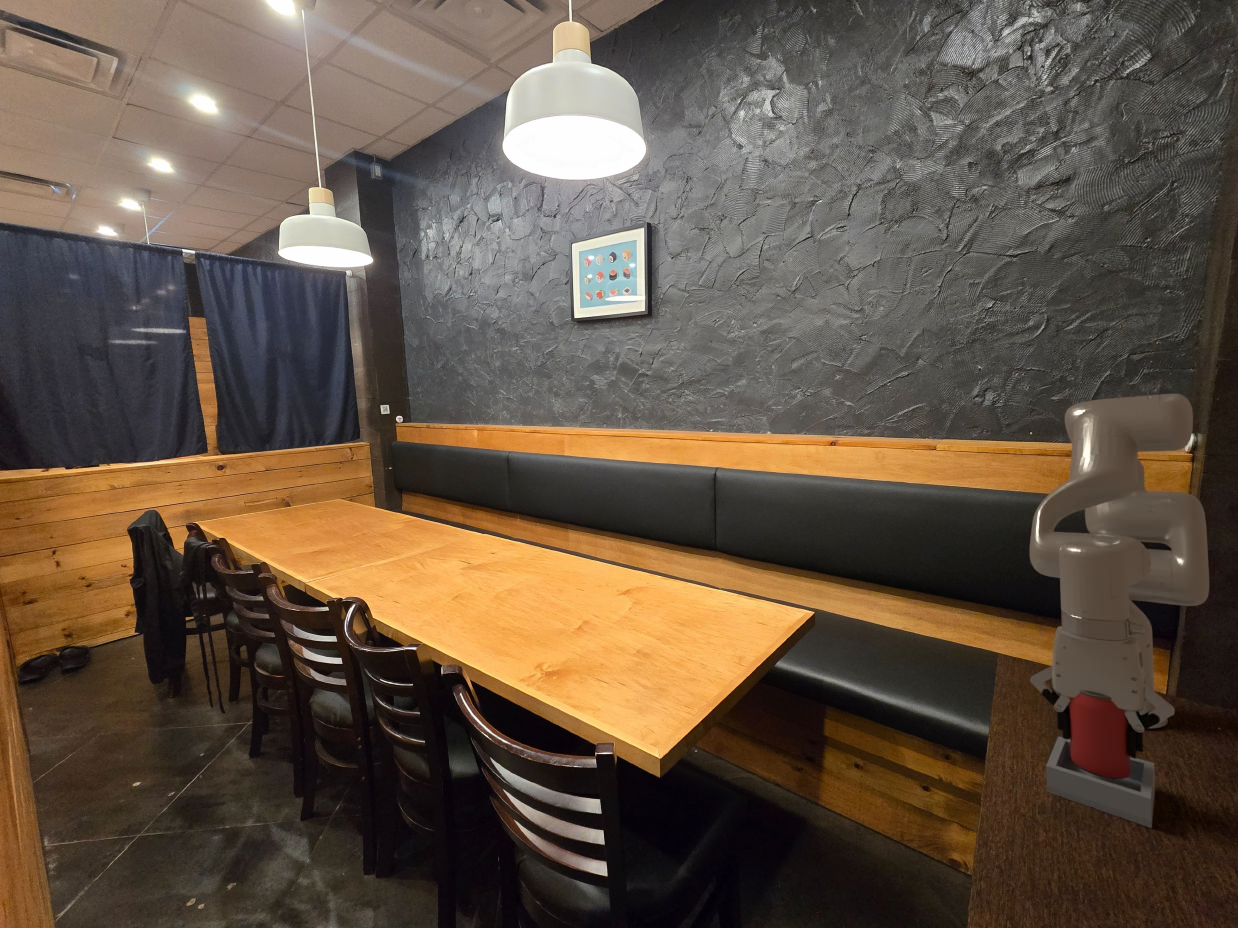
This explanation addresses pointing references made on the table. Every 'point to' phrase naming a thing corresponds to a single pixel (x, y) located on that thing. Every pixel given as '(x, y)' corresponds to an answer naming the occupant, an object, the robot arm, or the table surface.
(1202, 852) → the table surface
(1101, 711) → the beer can
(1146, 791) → the tray
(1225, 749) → the table surface
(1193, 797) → the table surface
